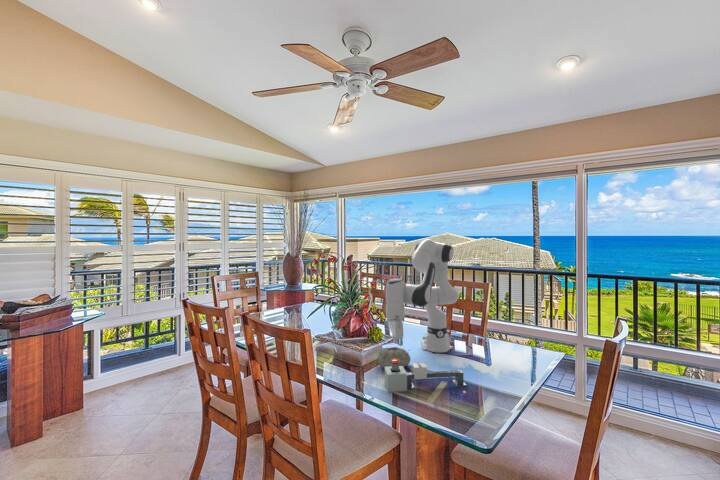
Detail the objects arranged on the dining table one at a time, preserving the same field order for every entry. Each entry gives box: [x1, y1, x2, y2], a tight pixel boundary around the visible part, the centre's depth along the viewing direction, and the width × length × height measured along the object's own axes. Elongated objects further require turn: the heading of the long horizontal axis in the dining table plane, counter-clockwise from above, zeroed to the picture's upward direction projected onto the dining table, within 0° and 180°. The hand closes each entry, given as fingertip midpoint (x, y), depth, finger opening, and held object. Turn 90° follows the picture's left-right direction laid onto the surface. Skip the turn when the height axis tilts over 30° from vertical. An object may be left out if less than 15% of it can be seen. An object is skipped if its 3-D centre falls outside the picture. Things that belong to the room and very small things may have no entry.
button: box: [391, 358, 400, 372], centre depth 153 cm, size 4×4×7 cm
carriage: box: [411, 361, 428, 380], centre depth 154 cm, size 5×6×6 cm
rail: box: [406, 369, 468, 390], centre depth 155 cm, size 6×30×6 cm, turn 94°
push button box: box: [384, 366, 408, 393], centre depth 153 cm, size 9×9×8 cm
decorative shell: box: [377, 346, 411, 369], centre depth 177 cm, size 18×18×10 cm
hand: (395, 342), depth 153 cm, fingers closed
